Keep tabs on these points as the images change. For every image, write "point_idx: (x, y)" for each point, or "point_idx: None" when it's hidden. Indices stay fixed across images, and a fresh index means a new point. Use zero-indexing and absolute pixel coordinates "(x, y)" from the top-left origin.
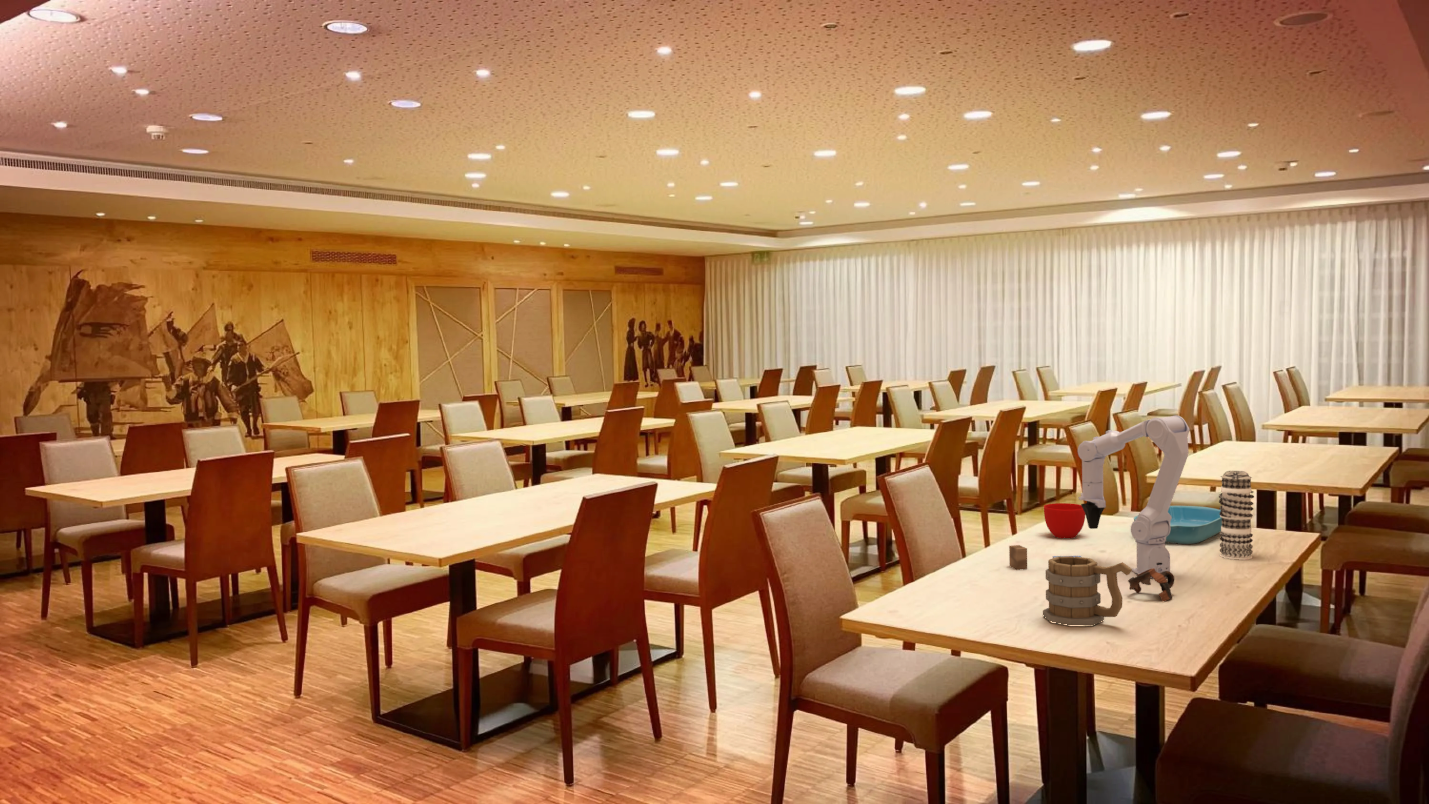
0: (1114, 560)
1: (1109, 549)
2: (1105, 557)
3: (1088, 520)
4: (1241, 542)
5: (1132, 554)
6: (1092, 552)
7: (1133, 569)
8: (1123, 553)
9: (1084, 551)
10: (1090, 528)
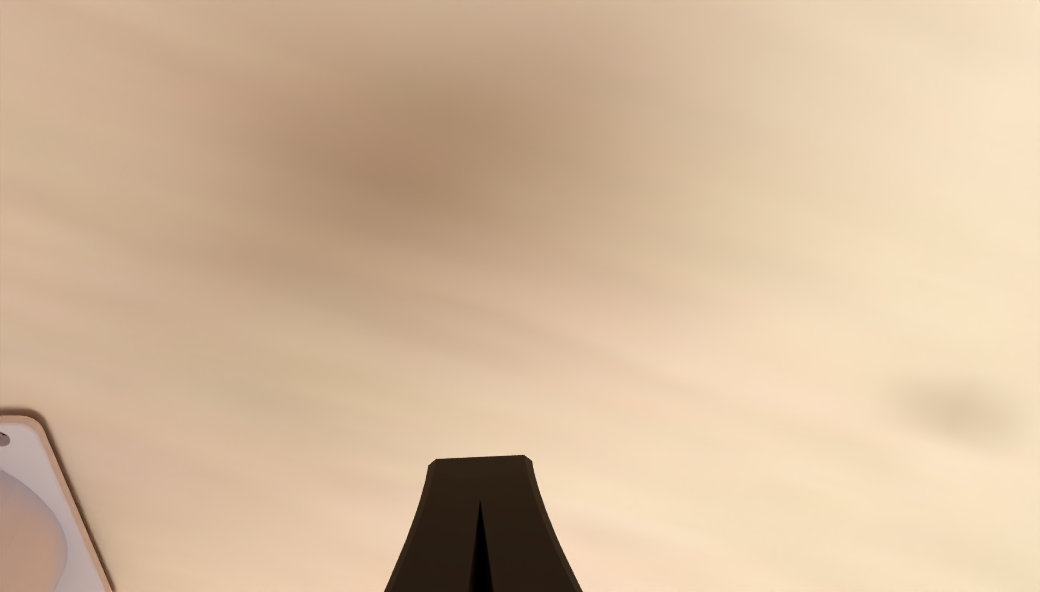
0: (526, 401)
1: (1001, 482)
2: (678, 364)
3: (441, 581)
4: None
5: (739, 577)
6: (947, 316)
7: (10, 436)
8: (799, 533)
9: (1030, 256)
10: (436, 462)
